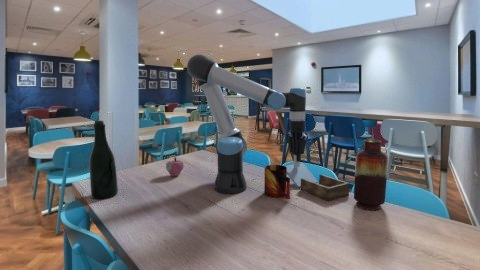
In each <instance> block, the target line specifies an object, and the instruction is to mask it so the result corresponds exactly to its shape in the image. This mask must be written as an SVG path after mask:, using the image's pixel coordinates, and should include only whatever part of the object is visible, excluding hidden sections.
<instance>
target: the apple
mask: <svg viewBox="0 0 480 270" xmlns="http://www.w3.org/2000/svg"><path fill="white" fill-rule="evenodd" d="M173 159H174V160H171V161H167V162H166V164H165V168H166V169H165V170H167V173H168V174H169V175H170V176H171V177H179V176H180V174H181V172H182V171H183V169H184V167H185V165H184V162H183V160H180V159H177V157H176V156H175V157H174V158H173ZM178 175H179V176H178Z"/></svg>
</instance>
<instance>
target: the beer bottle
mask: <svg viewBox="0 0 480 270" xmlns="http://www.w3.org/2000/svg"><path fill="white" fill-rule="evenodd" d="M93 131H94V141H93V142H94V143H93V147H92V150H91V152H90V156H89V159H88V160H89V166H88V168H89V182H90V193H91V194H90V195H91V197H92V199H96V200H105V199H110V198H113V197H114V196H116V195H117V194H118V193H119V188H118V187H119V186H118V175H117V168H116V167H117V166H116V159H115V156H114V153H113V151H112V150H111V147H110V145H109V143H108V140H107V133H106V124H105V123H104V120H95V121H94V124H93Z"/></svg>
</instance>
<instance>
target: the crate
mask: <svg viewBox="0 0 480 270" xmlns="http://www.w3.org/2000/svg"><path fill="white" fill-rule="evenodd" d="M300 191H302V192H304V193H306V192H307V193H306V194H309V195H312V196H314V197H316V198H318V199H321V200H323V201H326V202H331V201H335V200H337V199H341V197H342V198H344V197H347V196H349V195H350V183H349V182H347V181H343V180H341V179H337V178H334V177H331V176H328V175H324V174H322V173H321V174H320V173H319V176H318V183H315V182H312V181H309V180H306V179H303V178H301V187H300Z"/></svg>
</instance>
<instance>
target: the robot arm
mask: <svg viewBox="0 0 480 270" xmlns="http://www.w3.org/2000/svg"><path fill="white" fill-rule="evenodd" d="M186 69H187V73H188V74H189V75H190V77H191V78H192V79H194V80H196V83H197V85H198V88H199V89H201V90H203V92H204V95H205V97H206V101H207V103H208V106H209V108H210V111H211V113H212V116H213V118H214V121H215V124H216V126H217V129H218V131H219V134H220V135H219V138H218V141H217V143H216V144H217V145H216V151H217V174H216V177H215V181H214V187H213V188H214V190H215V192H219V193H221V194H222V193H223V194H237V193H242V192H244V191H246V190H247V181H246V178H245V175H244V167H243V166H244V163H243V162H244V160H243V158H244V156H245V155H246V153H247V150H248V144H247V141H246V139H245V138H244V137H243V134H242V132H241V130H240V129H238V128H237V127H236V125H235V124H236V123H235V121H234V118H233V117H232V114H231V111H230V109H229V106H228V104H227V101H226V99H225V96H224V92H223V90H222V88H224V89H227V90H229V91H232V92H234V93H236V94H238V95H241V96H242V97H245V98H247V99H250V100H252V101H255V102H257V103H259V104H262V105H263V106H264V107H265V108H266V109H271V110H274V111H280V110H281V109H289V126H288V127H289V129H290V130H289V131H290V132H287V133H286V136H287V141H288V146H289V152H290V153H292V160H293V165H294V168H298V167H300V163H301V156H302V155H304V154H305V151H306V150H305V148H306V145H307V140H308V138H309V135H308V134H307V135H306V134H305V128H306V121H305V120H306V103H307V97H306V96H307V92H306V89H305V87H304V88H303V87H295V88H294V87H292V88H290V89H289V91H288V92H280V91H276V90H274V89H272V88H269V87H267V86H265V85H263V84H260V83H257V82H256V81H254V80H251V79H249V78H247V77H244V76H241V75H239V74H237V73H235V72H232V71H230V70H228V69H226V68H223V67H220V66H219V65H218V63H217V62H215V60H214V59H212V58H209V57H208V56H205V54H204V55H203V54H195V55H193V56H191V57H190V58H189V59H188V62H187V64H186Z"/></svg>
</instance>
